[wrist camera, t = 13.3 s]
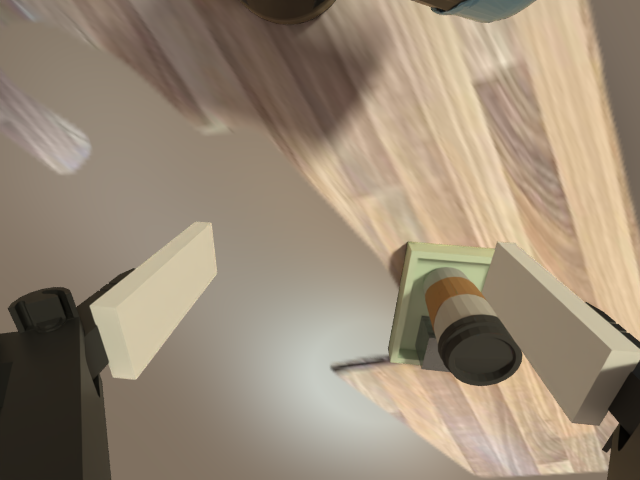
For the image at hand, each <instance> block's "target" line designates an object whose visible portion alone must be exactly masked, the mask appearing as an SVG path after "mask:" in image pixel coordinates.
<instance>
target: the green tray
mask: <svg viewBox="0 0 640 480" xmlns="http://www.w3.org/2000/svg"><path fill="white" fill-rule="evenodd" d="M494 251H495V249H492V248H479V247H467V246H455V245H442V244H430V243H418V242H408V244H407V250H406V255H405V260H404V266H403V271H402V277H401V282H400V287H399V293H398V298H397V303H396V309H395V314H394V320H393V326H392V330H391V336H390V341H389V347H388V351H389V357H390V362H393V363H403V364H413V365H420V362H419V358H418V355H417V351H416V347H415V343H416V338H417V334H418V330H419V325H420V321H421V317H422V316H429V313H428V309H427V305H426V302H425V296H424V292H423V284H424V281H425V279H426V277H427V276H428V275H429V274H430V273H431V272H432V271H434V270H435V269H438V268H441V267H452V268H456V269H458V270H460V271H462V272H463V273H464V274H465V275H466V276H467V278H468V279H469V280H470V281H471V282H472V283H473V284H474V285H475V286H476V287H477V288H478V289H479V290H480V292H481V293H482V291H483V287H484V284H485V281H486V277H487V274H488V271H489V267H490V264H491V261H492V257H493V254H494Z"/></svg>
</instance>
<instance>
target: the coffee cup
mask: <svg viewBox="0 0 640 480" xmlns="http://www.w3.org/2000/svg"><path fill="white" fill-rule="evenodd" d="M423 292H424V296H425V302H426V305H427V309H428V313H429V316H430V320H431V324H432V328H433V331H434V333H435V336H436V339H437V343H438V353H439V355H440V358H441V359H442V361H443V363H444V365H445V367H446V368H447V369H448V370H449V371H450V372H451V373H452V374H453V375H454V376H455V377H456V378H457V379H459V380H460V381H462V382H464V383H467V384H470V385H476V386H487V385H492V384H496V383H499V382H501V381H504V380H506V379H507V378H509V377H510V376H512V375H513V374H514V373H515V372H516V371H517V369H518V368H519V366H520V364H521V362H522V352H521V349H520V348H519V346H518V345H517V344H516V342H515V341H514V339H513V338H512V336H511V335H510V333H509V332H508V331H507V329H506V328H505V326H504V325H503V323H502V322H501V321H500V319H499V318H498V316H497V315H496V313H495V312H494V310H493V309H492V308H491V306H490V305H489V303H488V302H487V300H486V299H485V297H484V296H483V295H482V293H481V292H480V290H479V289H478V288H477V287H476V286H475V285H474V284H473V283H472V282H471V281H470V280H469V279H468V278H467V276H466V275H465V274H464V273H463V272H462V271H460V270H458V269H456V268H452V267H441V268H438V269H435V270H434V271H432V272H431V273H430V274H429V275H428V276H427V277H426V279H425V281H424V284H423Z"/></svg>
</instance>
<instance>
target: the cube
mask: <svg viewBox="0 0 640 480" xmlns="http://www.w3.org/2000/svg"><path fill="white" fill-rule="evenodd" d="M415 347H416V351H417V355H418V358H419V362H420V365H421V369H426V370H435V371H445V372H450V371H449V370H448V369H447V368H446V367H445V365H444V363H443V361H442V359H441V358H440V355H439V353H438V343H437V339H436V336H435V333H434V331H433V328H432V324H431V320H430V316H422V317H421V321H420V325H419V330H418V334H417V338H416V343H415Z"/></svg>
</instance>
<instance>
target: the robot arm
mask: <svg viewBox="0 0 640 480" xmlns="http://www.w3.org/2000/svg"><path fill="white" fill-rule="evenodd" d="M239 1H240V2H241V3H242V4H243V5H245V6H246V7H247V8H248V9H249V10H250V11H251V12H253V13H254V14H256V15H257V16H259V17H261V18H263V19H265V20H267V21H270V22H274V23H278V24H298V23H302V22H306V21H308V20H311V19H313V18H315V17H317V16H318V15H320V14H321V13H323V12H324V11H325V10H327V9H328V8H329V7H330V6H331V5H332V4H333V3H334V2H335V1H336V0H239ZM412 1H415V2H418V3H421V4H424V5H426V6H429V7H431V10H432V11H433V12H435V13H437V14H439V15H456V16H460V17H463V18H467V19H470V20H474V21H477V22H481V23H490V22H493V21H499V20H501V19H506V18H509V17H511V16H513V15H515V14H517V13H518V12H520V11H521V10H523V9H525V8H526V7H528V6H529V5H531V4H532V3H533V2H535V1H536V0H412ZM216 274H217V268H216V258H215V250H214V241H213V232H212V224H211V223H208V222H195V223H193V224H192V225H191V226H190V227H188V228H187V229H186V230H185V231H183V232H182V233H181V234H179V235H178V236H177V237H176V238H175V239H173V240H172V241H171V242H169V243H168V244H167V245H166V246H164V247H163V248H162V249H161V250H160V251H158V252H157V253H155V254H154V255H153V256H152V257H150V258H149V259H148V260H147V261H145V262H144V263H143V264H142V265H140V266H139V267H138V268H137V269H134V268H133V269H131V270H129V271H126V272H124V273H122V274H120V275H118V276H117V277H116V278H114V279H113V280H112V281H110V282H109V284H106V285H105V286H104V287H102V288H101V289H100V291H97V292H96V293H95V294H93V295H92V296H91V297H89V298H88V299H87V300H85V301H84V302H83V303H81V304H80V305H79V306H77V307H76V305H75V303H74V300H73V297H72V294H71V292H70V290H69V289H66V288H63V287H53V288H46V289H41V290H38V291H35V292H31V293H29V294H27V295H24V296H22V297H20V298H19V299H17V300H16V301H14V302H13V303H12V304H11V305H10V306H9V308H8V310H9V312H10V314H11V316H12V319H13V321H14V323H15V325H16V327H17V329H18V332H11V333H3V334H0V480H111V471H110V463H109V462H110V461H109V451H108V440H107V429H106V418H105V408H104V397H103V386H102V380H101V377H100V374H99V373H100V372H101V371H102V370H103V369H104V368H105V366H106V365H107V364H109V367H110V370H111V373H112V376H113V377H114V378H125V379H134V380H136V379H137V378H138V376H139V375H140V374H141V372H142V371H143V370H144V369H145V367H146V366H147V365H148V364H149V362H150V361H151V360H152V358H153V357H154V356H155V354H156V353H157V352H158V350H159V349H160V348H161V346H162V345H163V344H164V342H165V341H166V340H167V338H168V337H169V336H170V334H171V333H172V332H173V331H174V329H175V328H176V327H177V325H178V324H179V323H180V321H181V320H182V319H183V317H184V316H185V315H186V313H187V312H188V311H189V310H190V308H191V307H192V306H193V304H194V303H195V302H196V300H197V299H198V298H199V296H200V295H201V294H202V293H203V291H204V290H205V289H206V287H207V286H208V285H209V283H210V282H211V281H212V279H213V278H214V277H215V275H216ZM482 295H483V296H484V297H485V299H486V300H487V302H488V303H489V305H490V306H491V308H492V309H493V310H494V312H495V313H496V315H497V316H498V318H499V319H500V321H501V322H502V323H503V325H504V326H505V328H506V329H507V331H508V332H509V333H510V335H511V336H512V338H513V339H514V341H515V342H516V344H517V345H518V346H519V348H520V349H521V351H522V352H523V354H524V355H525V357H526V358H527V359H528V361H529V362H530V364H531V365H532V367H533V368H534V369H535V371H536V372H537V374H538V375H539V377H540V378H541V380H542V381H543V382H544V384H545V385H546V387H547V388H548V390H549V391H550V393H551V394H552V395H553V397H554V398H555V400H556V401H557V403H558V404H559V406H560V407H561V408H562V410H563V411H564V413H565V414H566V416H567V417H568V418H569V420H570V421H571V423H578V424H588V425H598V426H599V425H600V424H601V422H602V420H603V419H604V417H605V416H606V414H607V412H608V411H610V413H611V414H612V415H613V416H614V417H615V418H616V420H617V421H618V422H619V424H618V426H617V427H616V429H615V430H614V432H613V433H612V435H611V436H610V438H609V440H608V441H607V443H606V444H605V446H604V447H603V449H602V450H603V451H605V452H608V451H609V449H610V448H611V454H610V462H609V469H608V477H607V480H640V342H639V341H638V340H637V339H636V338H634V337H633V336H632V335H631V334H630V333H626V330H625V329H624V328H622V327H621V326H620V325H619V324H616V322H615V321H614V320H613V319H611V318H610V317H609V316H608V315H607V314H605V313H604V312H603V311H601V310H599V309H598V308H596V307H594V306H592V305H590V304H589V303H587V302H584V301H583V300H581V299H580V298H579V297H578V296H577V295H576V294H574V293H573V292H572V291H571V290H570V289H569V288H567V287H566V286H565V285H564V284H563V283H562V282H560V281H559V280H558V279H557V278H556V277H554V276H553V275H552V274H551V273H550V272H549V271H547V270H546V269H545V268H544V267H543V266H542V265H540V264H539V263H538V262H537V261H536V260H534V259H533V258H532V257H531V256H530V255H529V254H527V253H526V252H525V251H524V250H523V249H522V248H520V247H519V246H518V245H517V244H516V243H510V242H497V244H496V247H495V251H494V254H493V257H492V261H491V264H490V267H489V271H488V274H487V277H486V281H485V284H484V287H483V291H482Z"/></svg>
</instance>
